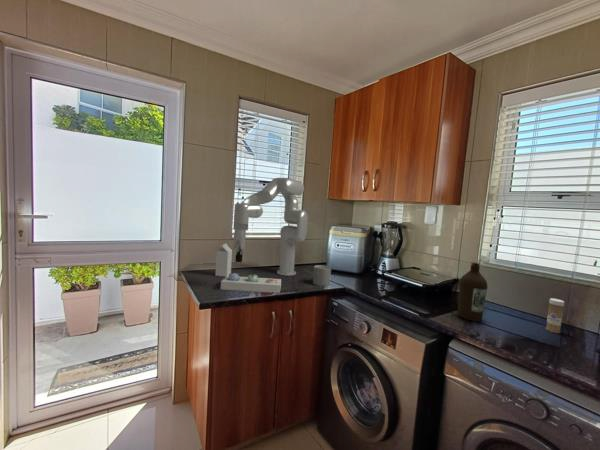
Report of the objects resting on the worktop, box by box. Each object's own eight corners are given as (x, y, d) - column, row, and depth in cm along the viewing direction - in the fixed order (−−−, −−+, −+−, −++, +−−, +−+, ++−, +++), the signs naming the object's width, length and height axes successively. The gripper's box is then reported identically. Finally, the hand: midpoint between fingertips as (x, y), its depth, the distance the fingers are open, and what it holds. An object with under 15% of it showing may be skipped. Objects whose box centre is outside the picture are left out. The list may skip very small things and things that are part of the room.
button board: (226, 282, 155) (226, 275, 154) (280, 286, 155) (281, 279, 155) (220, 289, 143) (221, 281, 142) (279, 293, 143) (280, 285, 143)
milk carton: (230, 274, 174) (232, 243, 172) (226, 277, 167) (228, 245, 165) (219, 273, 174) (221, 242, 173) (215, 275, 167) (216, 244, 166)
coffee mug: (327, 287, 160) (328, 269, 159) (310, 284, 163) (311, 267, 162) (332, 281, 172) (334, 265, 171) (317, 279, 176) (318, 263, 175)
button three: (248, 282, 151) (248, 273, 151) (257, 282, 151) (258, 274, 151) (246, 284, 146) (247, 276, 146) (256, 285, 146) (256, 276, 146)
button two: (229, 280, 151) (230, 272, 151) (239, 281, 151) (239, 273, 151) (227, 283, 146) (227, 275, 146) (237, 284, 146) (237, 275, 146)
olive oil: (450, 313, 131) (456, 260, 129) (469, 312, 133) (475, 260, 131) (469, 322, 120) (475, 265, 119) (489, 322, 123) (496, 265, 121)
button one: (266, 286, 152) (267, 278, 151) (275, 287, 152) (276, 279, 151) (265, 289, 147) (266, 281, 146) (275, 290, 147) (275, 281, 146)
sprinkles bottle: (545, 331, 117) (549, 299, 116) (545, 327, 120) (549, 297, 119) (560, 334, 114) (565, 302, 113) (560, 331, 117) (564, 300, 116)
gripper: (236, 225, 154) (234, 258, 155) (230, 227, 139) (228, 264, 140) (250, 226, 154) (248, 259, 155) (245, 228, 139) (243, 265, 140)
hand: (238, 261), depth 148 cm, fingers closed
